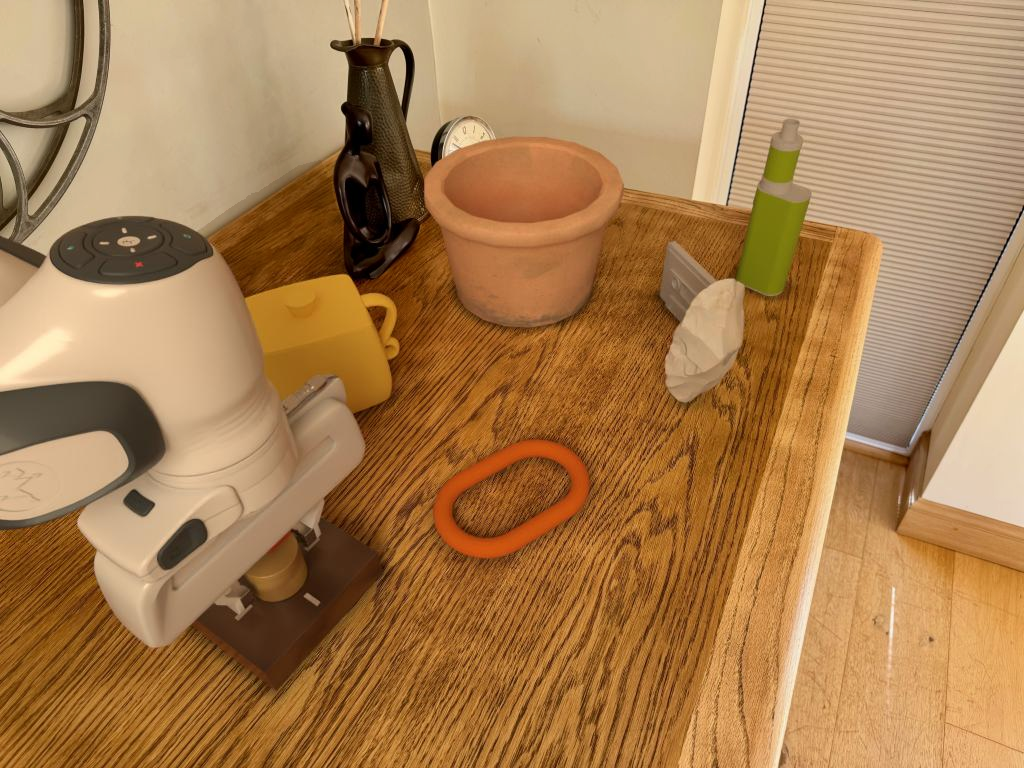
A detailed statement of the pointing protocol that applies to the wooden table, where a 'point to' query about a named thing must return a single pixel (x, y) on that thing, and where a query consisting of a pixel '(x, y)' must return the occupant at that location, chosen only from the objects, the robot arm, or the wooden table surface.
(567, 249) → the pottery
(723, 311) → the stone
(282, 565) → the dimmer knob
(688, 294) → the cassette
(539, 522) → the orange oval ring
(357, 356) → the teapot
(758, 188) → the vape
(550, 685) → the wooden table surface
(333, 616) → the dimmer panel
